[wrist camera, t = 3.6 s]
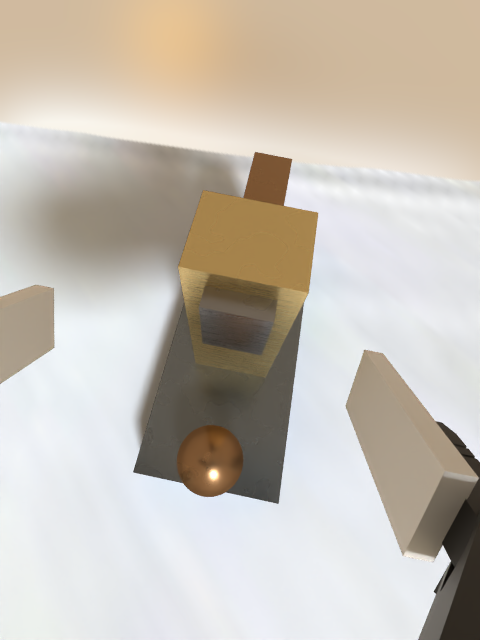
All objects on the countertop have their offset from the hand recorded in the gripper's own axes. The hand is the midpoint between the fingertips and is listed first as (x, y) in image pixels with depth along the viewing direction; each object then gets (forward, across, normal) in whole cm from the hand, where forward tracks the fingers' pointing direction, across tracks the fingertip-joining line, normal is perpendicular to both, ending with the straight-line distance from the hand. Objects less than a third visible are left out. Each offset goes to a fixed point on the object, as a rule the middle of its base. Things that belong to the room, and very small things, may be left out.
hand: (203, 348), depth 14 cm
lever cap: (+10, +1, -4) cm, 10 cm away
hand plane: (+12, +1, -6) cm, 14 cm away
